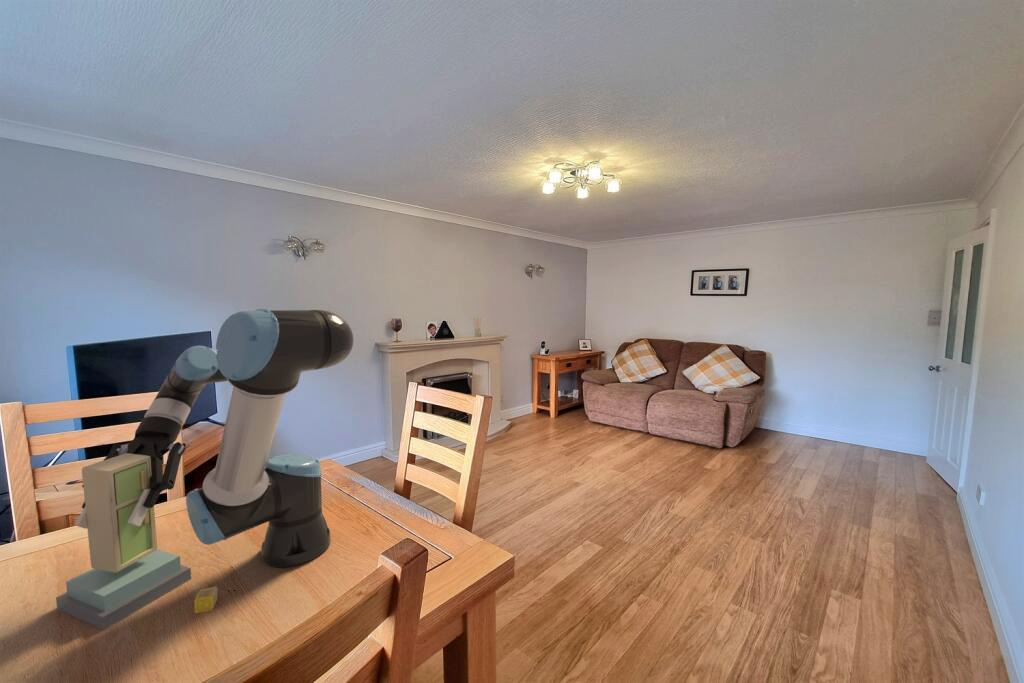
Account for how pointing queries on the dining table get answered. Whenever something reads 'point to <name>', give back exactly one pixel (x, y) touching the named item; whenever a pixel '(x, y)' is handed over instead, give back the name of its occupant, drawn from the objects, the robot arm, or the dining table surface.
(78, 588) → the brick stand
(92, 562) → the toy refrigerator
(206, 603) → the alphabet block
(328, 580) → the dining table surface
